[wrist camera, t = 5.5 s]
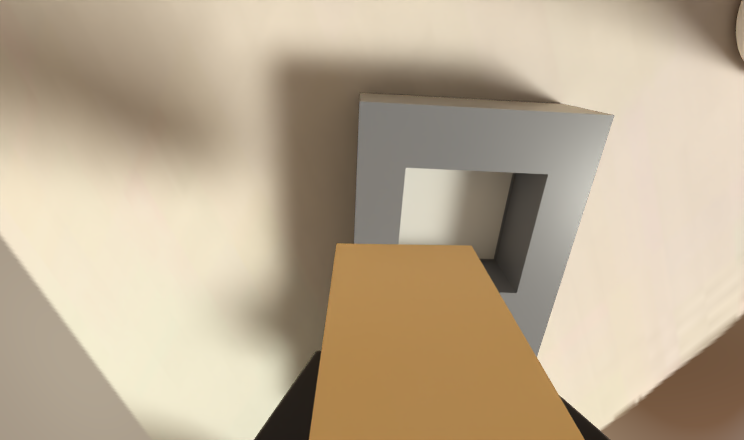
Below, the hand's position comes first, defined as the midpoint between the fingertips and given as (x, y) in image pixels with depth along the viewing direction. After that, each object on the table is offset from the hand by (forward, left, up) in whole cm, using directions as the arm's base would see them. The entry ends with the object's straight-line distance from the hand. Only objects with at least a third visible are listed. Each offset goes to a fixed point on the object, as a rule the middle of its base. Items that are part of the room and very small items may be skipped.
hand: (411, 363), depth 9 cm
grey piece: (-6, -3, -12) cm, 13 cm away
